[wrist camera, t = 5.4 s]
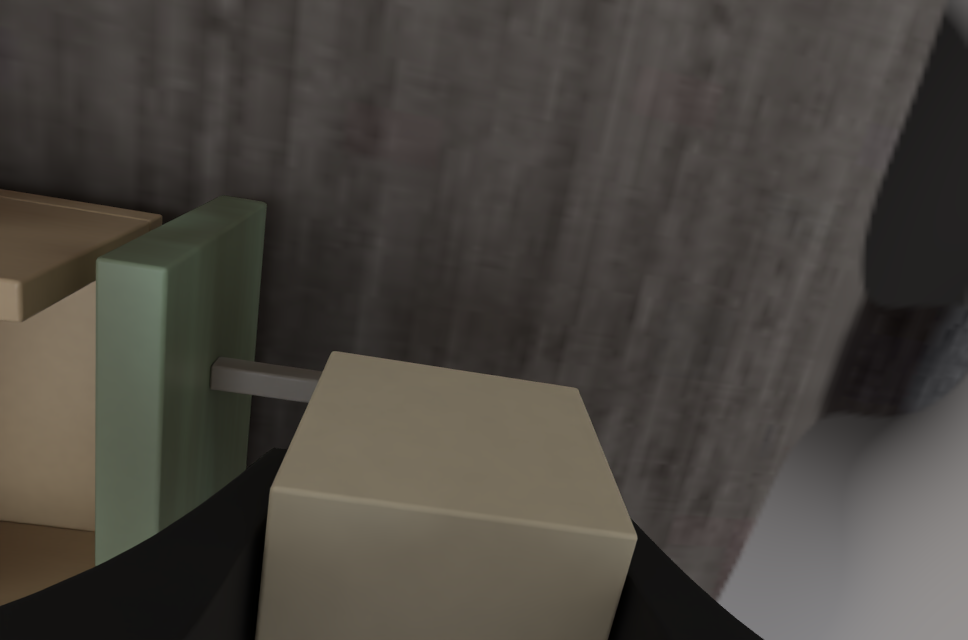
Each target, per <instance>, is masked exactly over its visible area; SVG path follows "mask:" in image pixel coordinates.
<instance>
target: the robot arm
mask: <svg viewBox="0 0 968 640" xmlns="http://www.w3.org/2000/svg"><path fill="white" fill-rule="evenodd" d="M286 452H287V450H286V449H278V448H273V449H272V450H270V451H269V452H267V453H266V454H265V455H263V456H262V457H261V458H260V459H258V460H257V461H256V462H255V463H253V464H252V465H251V466H250V467H249V468H247V469H246V470H245V471H244V472H242V473H241V474H240V475H239V476H237V477H236V478H235V479H234V480H232V481H231V482H230V483H228V484H227V485H226V486H225V487H223V488H222V489H221V490H219V491H218V492H216V493H215V494H214V495H212V496H211V497H210V498H208V499H207V500H206V501H204V502H203V503H202V504H200V505H199V506H198V507H196V508H195V509H193V510H192V511H190V512H189V513H187V514H186V515H184V516H183V517H181V518H180V519H178V520H177V521H175V522H174V523H172V524H171V525H169V526H168V527H166V528H164V529H163V530H161V531H160V532H158V533H157V534H155V535H154V536H152V537H150V538H148V539H147V540H145V541H143V542H141V543H140V544H138V545H136V546H134V547H132V548H130V549H129V550H127V551H125V552H123V553H121V554H119V555H117V556H115V557H113V558H111V559H109V560H108V561H106V562H104V563H101V564H99V565H97V566H95V567H93V568H91V569H89V570H86V571H84V572H82V573H79V574H77V575H75V576H73V577H70V578H68V579H66V580H63V581H61V582H59V583H57V584H54V585H52V586H50V587H47V588H45V589H43V590H41V591H38V592H36V593H33V594H31V595H28V596H26V597H23V598H20V599H18V600H15V601H12V602H9V603H7V604H4V605H1V606H0V640H255V632H256V622H257V612H258V602H259V592H260V582H261V573H262V563H263V553H264V543H265V533H266V523H267V514H268V504H269V494H270V488H271V486H272V484H273V481H274V479H275V477H276V475H277V473H278V470H279V468H280V466H281V464H282V461H283V459H284V457H285V455H286ZM630 519H631V518H630ZM631 521H632V524H633V526H634V529H635V531H636V534H637V542H636V545H635V549H634V552H633V556H632V559H631V562H630V566H629V569H628V573H627V576H626V579H625V583H624V586H623V590H622V593H621V596H620V600H619V603H618V607H617V610H616V613H615V617H614V620H613V623H612V627H611V630H610V634H609V637H608V640H763V639H762V638H761V637H760V636H758V635H757V634H755V633H754V632H753V631H752V630H750V629H749V628H748V627H747V626H745V625H744V624H743V623H741V622H740V621H739V620H737V619H736V618H735V617H734V616H733V615H731V614H730V613H729V612H728V611H727V610H725V609H724V608H723V607H722V606H721V605H720V604H718V603H717V602H716V601H715V600H714V599H713V598H712V597H711V596H709V595H708V594H707V593H706V592H705V591H704V590H703V589H702V588H701V587H699V586H698V585H697V584H696V583H695V582H694V581H693V580H692V579H691V578H690V577H689V576H687V575H686V574H685V573H684V572H683V571H682V570H681V569H680V568H679V567H678V566H677V565H676V564H675V563H674V562H673V561H672V560H671V559H670V558H669V557H668V556H667V555H666V554H665V553H664V552H663V551H662V550H661V549H660V548H659V547H658V546H657V545H656V544H655V543H654V542H653V541H652V540H651V539H650V538H649V537H648V536H647V535H646V534H645V533H644V532H643V531H642V530H641V529H640V527H639V526H638V525H637V524H636V523H635V522H634V521H633V520H632V519H631Z"/></svg>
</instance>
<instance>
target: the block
mask: <svg viewBox="0 0 968 640" xmlns="http://www.w3.org/2000/svg"><path fill="white" fill-rule="evenodd" d="M636 542H637V534H636V531H635V529H634V526H633V524H632V521H631V519H630V517H629V514H628V512H627V509H626V507H625V504H624V502H623V499H622V497H621V494H620V492H619V489H618V487H617V484H616V482H615V480H614V477H613V475H612V472H611V470H610V467H609V465H608V462H607V460H606V457H605V455H604V452H603V450H602V447H601V445H600V443H599V440H598V438H597V435H596V433H595V430H594V428H593V425H592V423H591V420H590V418H589V415H588V413H587V410H586V408H585V405H584V403H583V401H582V398H581V396H580V393H579V391H578V389H576V388H573V387H566V386H559V385H553V384H546V383H540V382H533V381H527V380H520V379H514V378H507V377H501V376H494V375H488V374H481V373H475V372H468V371H462V370H455V369H449V368H442V367H436V366H429V365H422V364H416V363H409V362H403V361H396V360H390V359H383V358H377V357H370V356H364V355H357V354H351V353H344V352H338V351H333V352H332V353H331V354H330V356H329V359H328V361H327V363H326V365H325V368H324V370H323V372H322V374H321V377H320V379H319V381H318V383H317V385H316V388H315V390H314V392H313V394H312V397H311V399H310V401H309V403H308V406H307V408H306V410H305V412H304V415H303V417H302V419H301V421H300V423H299V426H298V428H297V430H296V432H295V435H294V437H293V439H292V441H291V444H290V446H289V448H288V450H287V452H286V455H285V457H284V459H283V461H282V464H281V466H280V468H279V470H278V473H277V475H276V477H275V479H274V481H273V484H272V486H271V488H270V494H269V504H268V514H267V523H266V533H265V543H264V553H263V563H262V573H261V582H260V592H259V602H258V612H257V622H256V632H255V640H608V637H609V634H610V630H611V627H612V623H613V620H614V617H615V613H616V610H617V607H618V603H619V600H620V596H621V593H622V590H623V586H624V583H625V579H626V576H627V573H628V569H629V566H630V562H631V559H632V556H633V552H634V549H635V545H636Z"/></svg>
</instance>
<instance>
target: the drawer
mask: <svg viewBox="0 0 968 640" xmlns="http://www.w3.org/2000/svg"><path fill="white" fill-rule="evenodd" d="M266 209H267V205H266V203H264V202H261V201H255V200H249V199H243V198H237V197H231V196H225V195H222V196H219V197H217V198H215V199H213V200H211V201H209V202H207V203H205V204H203V205H201V206H199V207H197V208H195V209H193V210H191V211H189V212H187V213H185V214H183V215H181V216H179V217H177V218H175V219H173V220H171V221H169V222H167V223H165V224H164V225H162V216H161V215H159V214H153V213H147V212H141V211H134V210H128V209H122V208H116V207H110V206H103V205H97V204H91V203H85V202H79V201H72V200H66V199H60V198H54V197H48V196H41V195H35V194H29V193H23V192H17V191H10V190H4V189H0V606H1V605H4V604H7V603H9V602H12V601H15V600H18V599H20V598H23V597H26V596H28V595H31V594H33V593H36V592H38V591H41V590H43V589H45V588H47V587H50V586H52V585H54V584H57V583H59V582H61V581H63V580H66V579H68V578H70V577H73V576H75V575H77V574H79V573H82V572H84V571H86V570H89V569H91V568H93V567H95V566H97V565H99V564H101V563H104V562H106V561H108V560H109V559H111V558H113V557H115V556H117V555H119V554H121V553H123V552H125V551H127V550H129V549H130V548H132V547H134V546H136V545H138V544H140V543H141V542H143V541H145V540H147V539H148V538H150V537H152V536H154V535H155V534H157V533H158V532H160V531H161V530H163V529H164V528H166V527H168V526H169V525H171V524H172V523H174V522H175V521H177V520H178V519H180V518H181V517H183V516H184V515H186V514H187V513H189V512H190V511H192V510H193V509H195V508H196V507H198V506H199V505H200V504H202V503H203V502H204V501H206V500H207V499H208V498H210V497H211V496H212V495H214V494H215V493H216V492H218V491H219V490H221V489H222V488H223V487H225V486H226V485H227V484H228V483H230V482H231V481H232V480H234V479H235V478H236V477H237V476H239V475H240V474H241V473H242V472H244V471H245V470H246V461H247V448H248V436H249V423H250V411H251V398H252V395H255V396H262V397H269V398H277V399H284V400H291V401H298V402H305V403H309V401H310V399H311V397H312V394H313V392H314V390H315V388H316V385H317V383H318V381H319V379H320V377H321V374H322V372H323V371H316V370H309V369H302V368H296V367H289V366H282V365H275V364H268V363H261V362H254V360H255V347H256V335H257V322H258V310H259V297H260V284H261V272H262V259H263V246H264V234H265V221H266Z"/></svg>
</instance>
